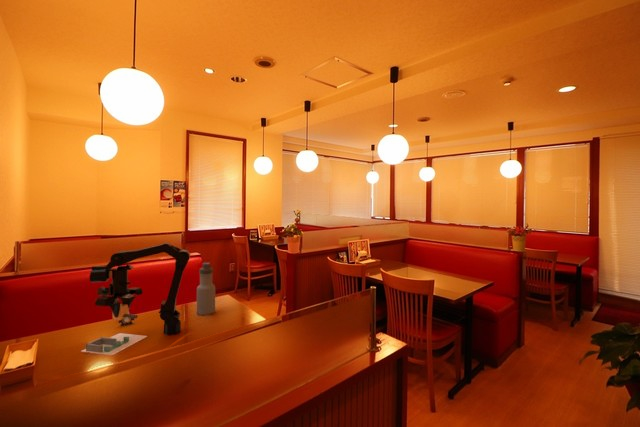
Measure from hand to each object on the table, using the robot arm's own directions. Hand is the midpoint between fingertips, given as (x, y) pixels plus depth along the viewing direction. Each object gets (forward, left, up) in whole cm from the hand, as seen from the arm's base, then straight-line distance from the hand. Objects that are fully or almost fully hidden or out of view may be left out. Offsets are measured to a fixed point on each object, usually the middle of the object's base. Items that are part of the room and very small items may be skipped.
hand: (120, 315), depth 129 cm
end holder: (0, +8, -10) cm, 13 cm away
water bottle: (-15, -41, -12) cm, 45 cm away
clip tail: (-4, +8, -10) cm, 14 cm away
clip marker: (-4, +3, -10) cm, 12 cm away
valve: (+15, -18, -12) cm, 26 cm away
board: (-2, +4, -11) cm, 12 cm away
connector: (-3, 0, -1) cm, 3 cm away
